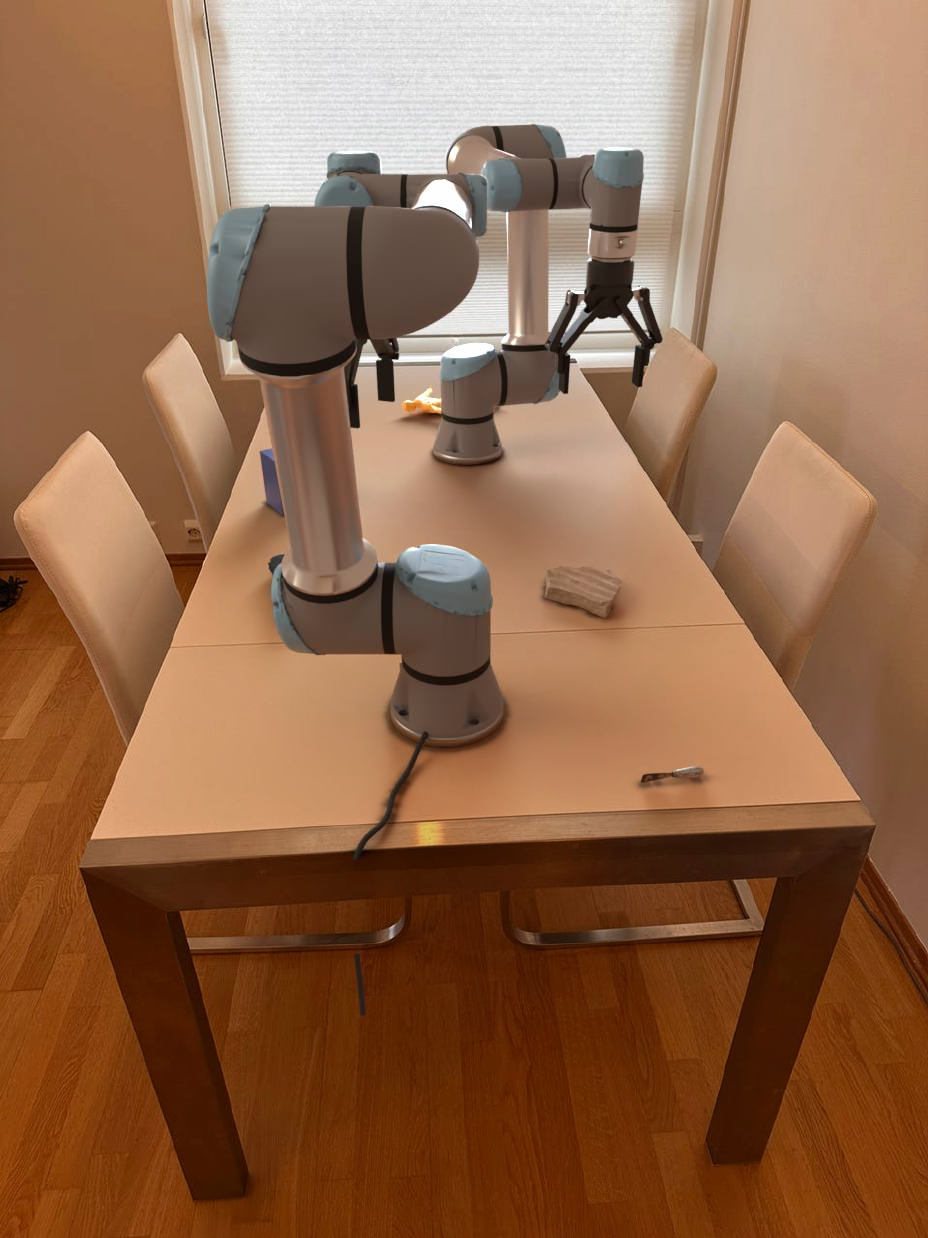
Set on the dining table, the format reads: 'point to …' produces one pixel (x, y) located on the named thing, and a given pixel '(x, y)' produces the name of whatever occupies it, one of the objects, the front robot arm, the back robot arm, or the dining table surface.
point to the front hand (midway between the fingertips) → (369, 413)
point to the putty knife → (674, 774)
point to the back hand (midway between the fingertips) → (600, 388)
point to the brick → (271, 480)
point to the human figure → (423, 403)
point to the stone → (583, 588)
